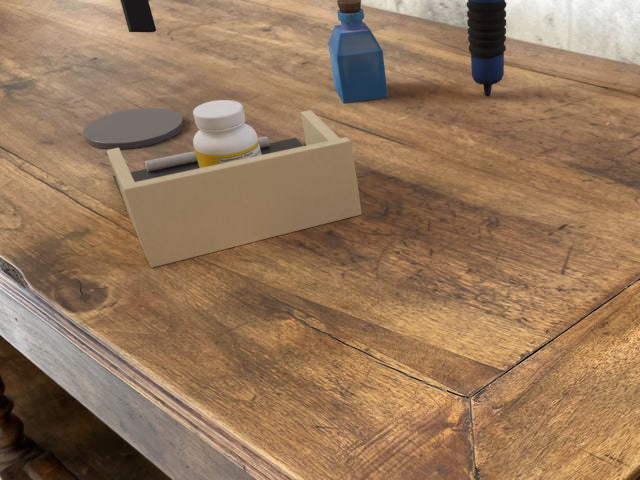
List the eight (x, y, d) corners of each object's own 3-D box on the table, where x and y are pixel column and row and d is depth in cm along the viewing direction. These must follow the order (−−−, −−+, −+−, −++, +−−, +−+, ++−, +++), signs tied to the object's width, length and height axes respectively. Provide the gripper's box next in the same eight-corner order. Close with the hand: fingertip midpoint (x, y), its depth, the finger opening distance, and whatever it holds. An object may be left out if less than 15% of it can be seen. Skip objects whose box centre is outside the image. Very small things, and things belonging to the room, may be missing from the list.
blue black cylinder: (505, 82, 115) (502, -77, 102) (525, 99, 109) (525, -66, 96) (452, 89, 113) (442, -72, 100) (470, 108, 107) (462, -60, 94)
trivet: (91, 156, 96) (89, 150, 95) (79, 124, 104) (77, 118, 103) (193, 136, 100) (191, 130, 100) (173, 107, 108) (172, 101, 108)
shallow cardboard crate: (151, 268, 75) (124, 189, 70) (115, 182, 90) (90, 112, 85) (362, 214, 83) (351, 140, 78) (297, 143, 98) (284, 77, 93)
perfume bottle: (335, 88, 113) (321, -3, 106) (377, 83, 115) (367, -7, 108) (343, 103, 109) (329, 9, 101) (387, 97, 111) (377, 4, 103)
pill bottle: (208, 206, 85) (180, 103, 78) (266, 194, 87) (244, 93, 80) (218, 231, 81) (188, 124, 74) (279, 218, 83) (256, 113, 76)
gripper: (198, -283, 71) (259, -28, 76) (101, -155, 88) (156, 45, 93) (112, -308, 66) (184, -33, 70) (27, -167, 83) (89, 45, 88)
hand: (168, 12), depth 82 cm, fingers open, 13 cm apart
